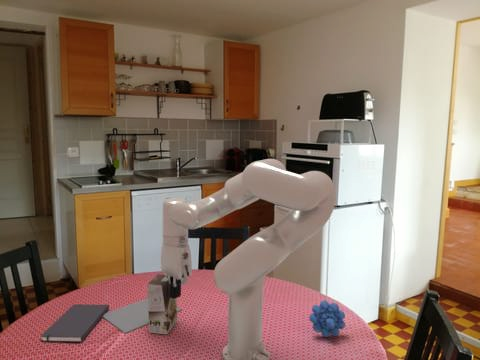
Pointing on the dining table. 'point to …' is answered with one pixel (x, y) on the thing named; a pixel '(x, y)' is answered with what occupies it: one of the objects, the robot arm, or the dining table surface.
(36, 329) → the dining table surface
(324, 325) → the grapes
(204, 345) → the dining table surface
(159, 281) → the coffee box
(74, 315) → the notebook
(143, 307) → the mat
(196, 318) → the dining table surface
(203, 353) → the dining table surface
